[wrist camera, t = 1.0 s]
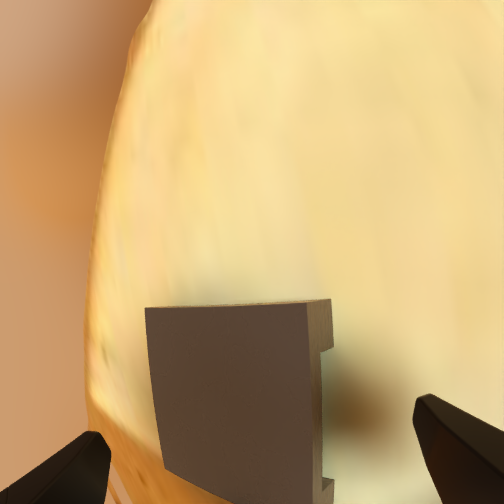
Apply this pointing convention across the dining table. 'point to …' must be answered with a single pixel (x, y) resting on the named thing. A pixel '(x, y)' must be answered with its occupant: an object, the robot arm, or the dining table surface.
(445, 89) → the dining table surface
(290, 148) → the dining table surface
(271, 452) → the stand
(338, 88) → the dining table surface
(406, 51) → the dining table surface
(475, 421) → the robot arm
